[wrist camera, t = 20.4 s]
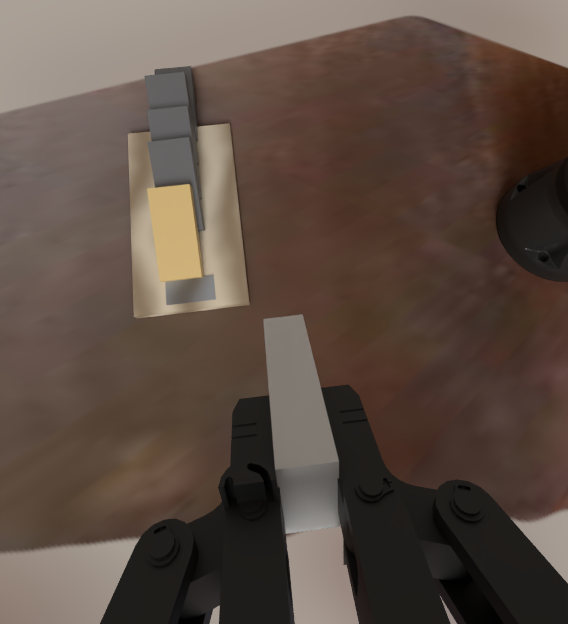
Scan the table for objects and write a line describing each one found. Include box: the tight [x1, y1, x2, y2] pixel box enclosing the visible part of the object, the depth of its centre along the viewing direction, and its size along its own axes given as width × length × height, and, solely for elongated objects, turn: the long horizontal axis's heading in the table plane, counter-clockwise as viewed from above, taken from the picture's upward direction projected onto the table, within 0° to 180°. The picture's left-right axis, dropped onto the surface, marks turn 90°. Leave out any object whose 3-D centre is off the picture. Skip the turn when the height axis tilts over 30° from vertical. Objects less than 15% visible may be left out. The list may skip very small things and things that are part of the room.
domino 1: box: [155, 66, 198, 142], centre depth 52 cm, size 5×2×11 cm
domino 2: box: [145, 72, 199, 165], centre depth 49 cm, size 5×2×11 cm
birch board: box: [128, 123, 250, 318], centre depth 49 cm, size 14×26×1 cm, turn 7°
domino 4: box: [147, 137, 205, 231], centre depth 47 cm, size 5×2×11 cm
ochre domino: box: [147, 184, 204, 282], centre depth 46 cm, size 5×2×11 cm
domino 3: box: [147, 106, 202, 199], centre depth 48 cm, size 5×2×11 cm
